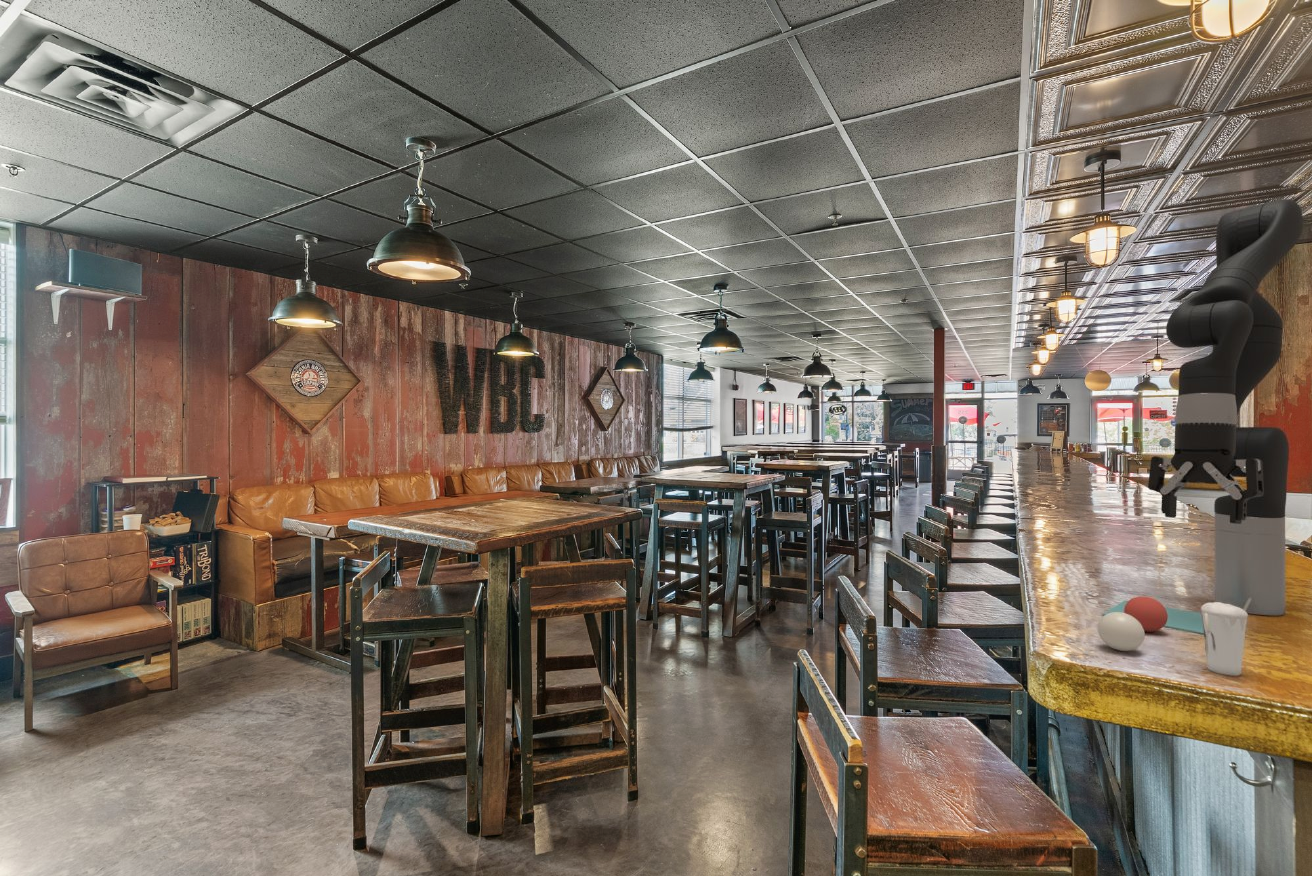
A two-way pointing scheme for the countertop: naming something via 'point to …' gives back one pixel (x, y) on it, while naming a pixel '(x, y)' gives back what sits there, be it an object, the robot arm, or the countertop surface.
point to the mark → (1174, 618)
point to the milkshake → (1224, 636)
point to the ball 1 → (1121, 631)
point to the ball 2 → (1147, 612)
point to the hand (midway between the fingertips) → (1201, 520)
